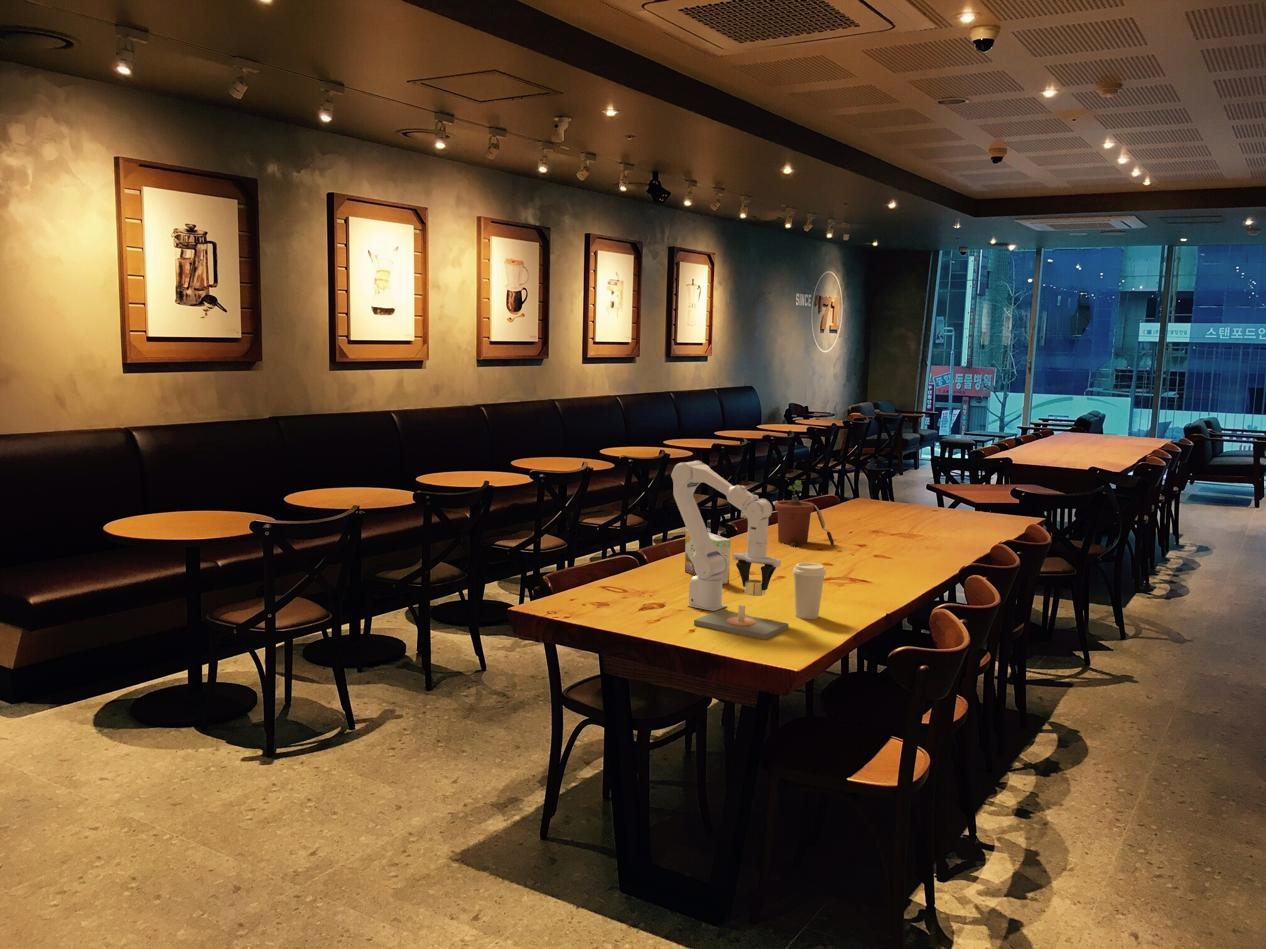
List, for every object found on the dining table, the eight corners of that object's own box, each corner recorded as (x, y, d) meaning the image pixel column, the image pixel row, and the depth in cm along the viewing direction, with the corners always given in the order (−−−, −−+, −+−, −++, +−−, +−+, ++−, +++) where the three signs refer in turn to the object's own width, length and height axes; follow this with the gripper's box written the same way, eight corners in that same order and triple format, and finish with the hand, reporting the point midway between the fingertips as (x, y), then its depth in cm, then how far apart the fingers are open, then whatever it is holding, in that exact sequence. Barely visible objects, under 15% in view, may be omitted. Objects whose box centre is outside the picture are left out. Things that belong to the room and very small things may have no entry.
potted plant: (789, 536, 419) (792, 477, 416) (834, 544, 405) (838, 483, 402) (764, 542, 406) (767, 480, 403) (811, 550, 392) (814, 486, 389)
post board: (693, 625, 280) (694, 603, 279) (719, 615, 291) (720, 594, 291) (764, 639, 267) (765, 617, 267) (788, 628, 279) (789, 607, 278)
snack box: (683, 572, 347) (684, 528, 345) (697, 570, 350) (698, 528, 348) (715, 585, 328) (717, 540, 326) (730, 584, 331) (732, 539, 329)
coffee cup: (819, 612, 298) (822, 562, 296) (826, 620, 288) (829, 569, 286) (787, 611, 297) (790, 561, 296) (793, 620, 288) (796, 568, 286)
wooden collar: (741, 593, 290) (742, 581, 290) (750, 590, 295) (751, 578, 294) (758, 596, 287) (759, 584, 286) (768, 593, 291) (768, 581, 291)
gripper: (728, 540, 290) (726, 586, 291) (773, 547, 282) (771, 594, 283) (740, 536, 296) (738, 582, 297) (784, 543, 287) (782, 590, 289)
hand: (755, 588), depth 291 cm, fingers closed on wooden collar, 6 cm apart
